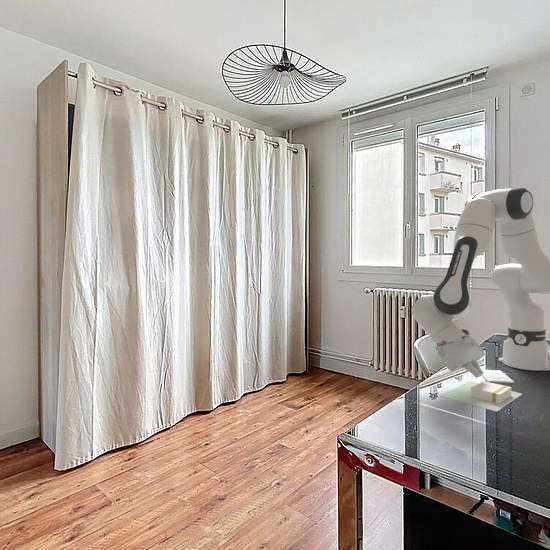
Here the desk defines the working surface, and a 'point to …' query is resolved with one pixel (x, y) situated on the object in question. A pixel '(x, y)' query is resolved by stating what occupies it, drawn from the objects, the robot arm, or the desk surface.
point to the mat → (465, 396)
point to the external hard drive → (496, 376)
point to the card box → (491, 392)
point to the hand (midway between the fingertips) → (480, 375)
